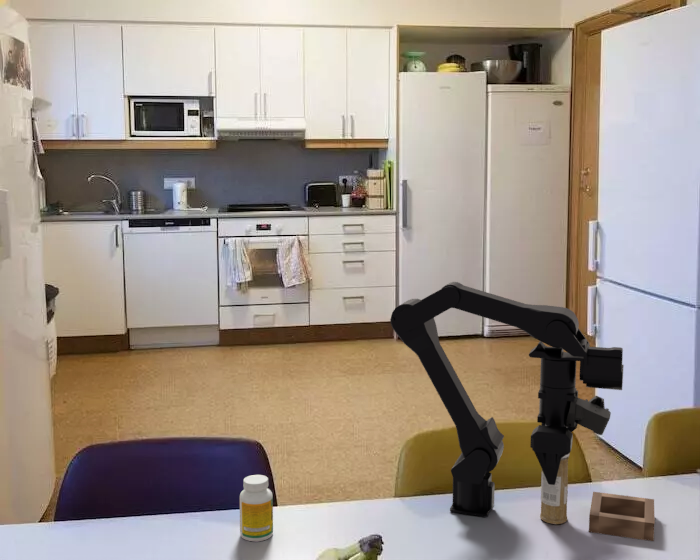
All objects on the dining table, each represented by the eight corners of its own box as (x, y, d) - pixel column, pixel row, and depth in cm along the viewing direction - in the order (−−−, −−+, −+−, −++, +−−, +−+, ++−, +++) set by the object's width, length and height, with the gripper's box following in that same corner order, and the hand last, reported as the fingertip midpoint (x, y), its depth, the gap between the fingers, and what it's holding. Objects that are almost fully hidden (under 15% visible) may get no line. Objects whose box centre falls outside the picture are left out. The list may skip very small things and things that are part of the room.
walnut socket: (588, 532, 134) (589, 514, 133) (592, 507, 143) (593, 491, 142) (653, 541, 130) (654, 523, 130) (653, 516, 140) (654, 499, 139)
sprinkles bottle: (572, 520, 138) (575, 444, 136) (554, 527, 135) (556, 449, 133) (552, 511, 142) (554, 437, 140) (533, 517, 139) (535, 442, 137)
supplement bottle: (236, 531, 134) (234, 476, 133) (266, 525, 137) (265, 470, 135) (246, 545, 130) (245, 487, 128) (278, 538, 132) (277, 481, 130)
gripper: (605, 404, 124) (601, 502, 126) (610, 374, 141) (607, 461, 143) (531, 397, 127) (528, 492, 130) (545, 369, 145) (542, 453, 147)
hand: (554, 474), depth 137 cm, fingers open, 9 cm apart
